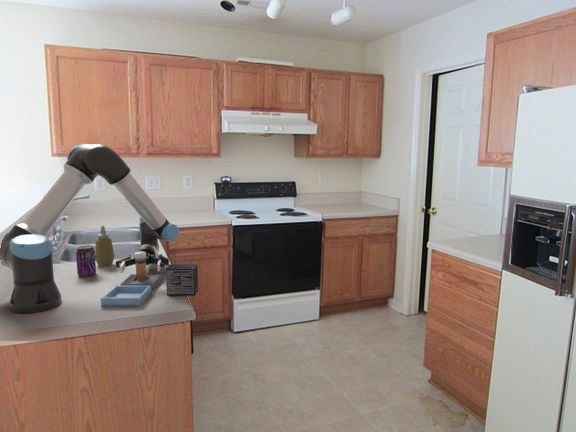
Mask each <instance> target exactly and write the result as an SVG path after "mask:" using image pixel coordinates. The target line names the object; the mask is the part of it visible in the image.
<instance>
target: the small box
mask: <svg viewBox="0 0 576 432" xmlns="http://www.w3.org/2000/svg"><path fill="white" fill-rule="evenodd" d="M165 272H166V273H165V274H166V296H167V297H185V296H186V297H188V296H189V297H195V296H196V295H197V294H198V291H199V276H198V264H197V263H190V264H189V263H187V264H186V263H185V264H184V263H183V264H181V263H179V264H177V263H173V264H171V263H169V265H168V266H167V267H166V268H165Z"/></svg>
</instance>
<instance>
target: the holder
mask: <svg viewBox="0 0 576 432" xmlns="http://www.w3.org/2000/svg"><path fill="white" fill-rule="evenodd" d="M146 274H147V281H136V273H135V274H133V273H132V274H130V275H128V276H127V277H126V278H125V279H124V280H123V281H122V282H121V283H120V284H119V286H151V291H153V290H155V288H157V286H158V285H159V283H160V282H162V274H160V273H159V274H155V273H153V274H148V273H146Z"/></svg>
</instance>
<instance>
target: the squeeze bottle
mask: <svg viewBox="0 0 576 432" xmlns="http://www.w3.org/2000/svg"><path fill="white" fill-rule="evenodd" d="M100 227H101V228H100V233H99V234H97V239H96V240H95V249H94V250H95V263H96V264H97V266H98V267H101V268H102V267H103V268H105V267H109V266H112V265H113V263H114V260H115V252H114V248H113V247H114V246H113V240H112V239H111V238H110V234H109V233H107V231H106V228H105V225H101V226H100Z"/></svg>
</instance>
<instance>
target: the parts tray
mask: <svg viewBox="0 0 576 432" xmlns="http://www.w3.org/2000/svg"><path fill="white" fill-rule="evenodd" d="M151 295H152V290H151V286H121V285H115V286H113V287H112V288H111V289H110V290H108V291H107V292H106V293H105V294H104V295H103V296H101V298H100V304H101V305H100V307H101V308H102V307H104V308H105V307H106V308H109V307H110V308H111V307H113V308H117V307H119V308H122V307H124V308H126V307H128V308H132V307H133V308H134V307H135V308H137V307H138V308H141V306H142V305H144V303H145V302H146V301H147V299H148V298H149V297H150V296H151Z"/></svg>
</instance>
